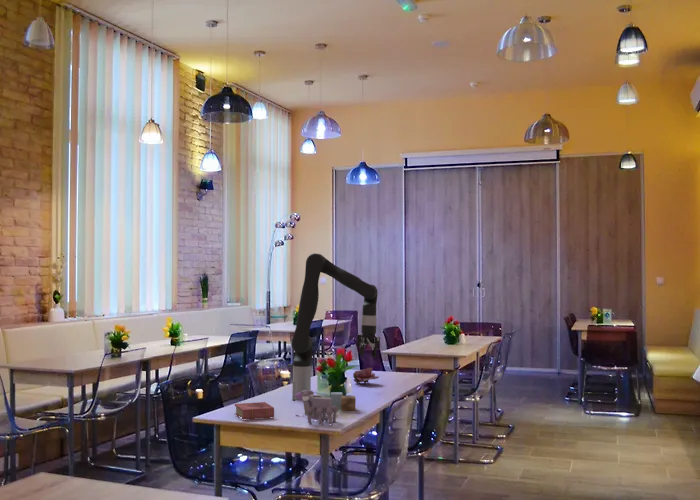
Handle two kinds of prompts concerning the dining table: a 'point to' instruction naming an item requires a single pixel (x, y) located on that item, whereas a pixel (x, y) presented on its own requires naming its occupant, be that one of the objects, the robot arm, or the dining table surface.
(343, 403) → the brown wooden cube
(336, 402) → the grey cube
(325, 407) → the toy sheep
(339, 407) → the build board
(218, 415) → the dining table surface
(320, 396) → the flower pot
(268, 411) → the book
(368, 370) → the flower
